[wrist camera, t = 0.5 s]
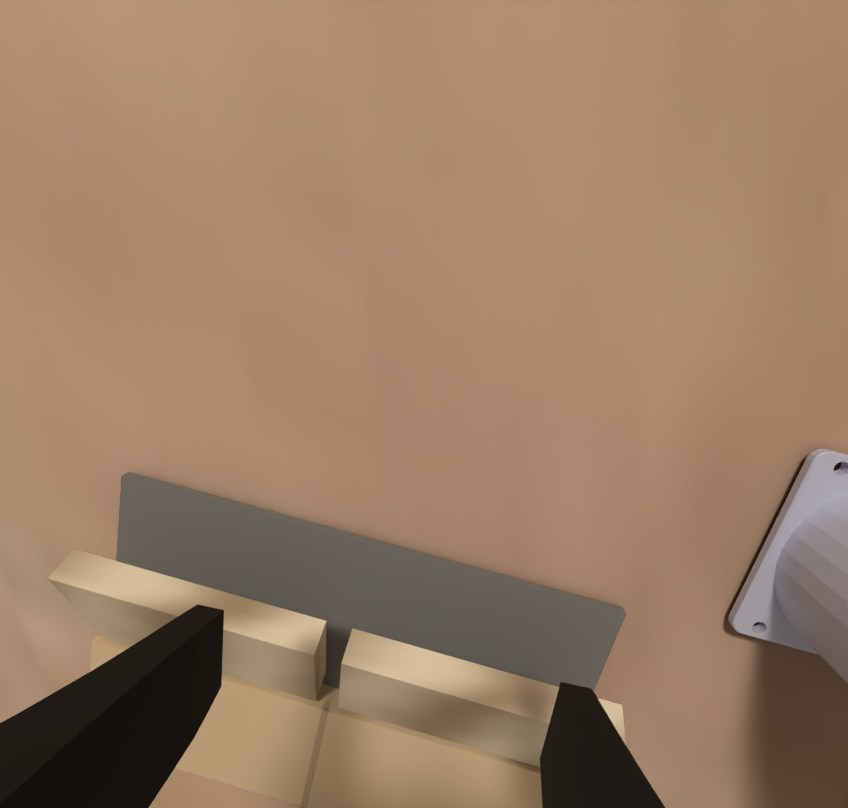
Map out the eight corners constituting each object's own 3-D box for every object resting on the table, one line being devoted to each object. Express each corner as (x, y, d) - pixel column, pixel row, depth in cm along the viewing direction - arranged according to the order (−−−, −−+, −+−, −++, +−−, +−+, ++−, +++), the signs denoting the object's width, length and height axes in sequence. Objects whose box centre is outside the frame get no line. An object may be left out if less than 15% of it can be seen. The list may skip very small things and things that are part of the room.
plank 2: (621, 705, 16) (626, 745, 15) (561, 739, 20) (561, 773, 19) (352, 628, 16) (341, 663, 16) (346, 677, 20) (337, 707, 20)
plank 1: (326, 621, 16) (313, 655, 16) (326, 671, 21) (315, 701, 20) (73, 548, 17) (47, 578, 16) (122, 612, 21) (103, 638, 20)
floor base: (622, 607, 19) (636, 636, 17) (523, 846, 22) (526, 887, 21) (128, 472, 20) (98, 487, 18) (111, 721, 23) (86, 751, 22)
